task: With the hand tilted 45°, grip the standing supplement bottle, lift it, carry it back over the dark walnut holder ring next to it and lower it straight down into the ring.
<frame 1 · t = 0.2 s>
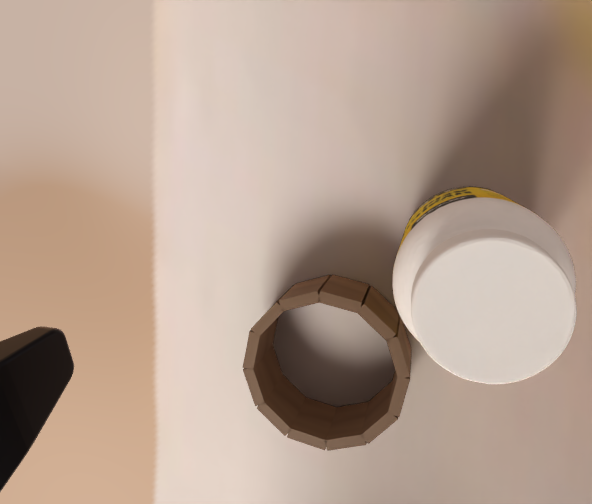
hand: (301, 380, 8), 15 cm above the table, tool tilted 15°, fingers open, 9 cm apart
supplement bottle: (462, 245, 22), on the table
holder: (334, 347, 24), on the table
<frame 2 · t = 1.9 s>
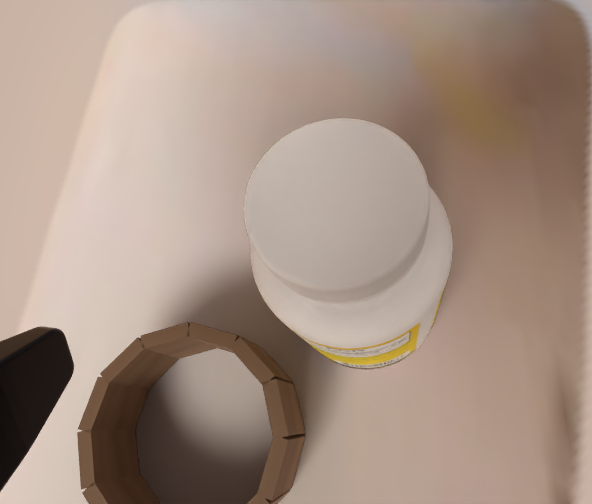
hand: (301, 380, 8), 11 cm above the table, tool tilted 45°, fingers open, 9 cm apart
supplement bottle: (365, 302, 19), on the table
holder: (210, 431, 19), on the table
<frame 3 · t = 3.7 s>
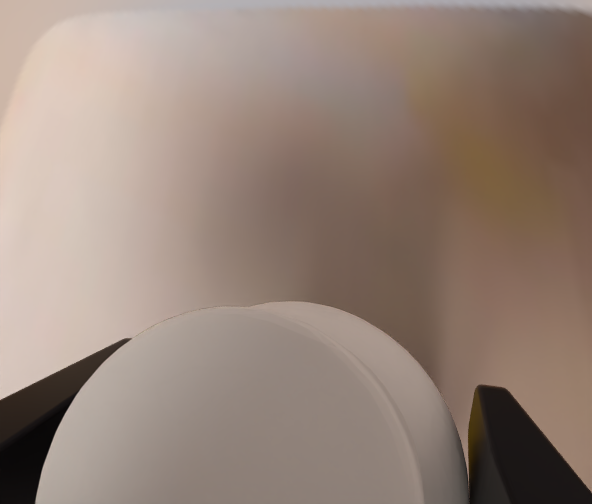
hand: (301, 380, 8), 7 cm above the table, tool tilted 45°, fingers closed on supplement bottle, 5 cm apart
supplement bottle: (338, 445, 14), on the table, touching gripper
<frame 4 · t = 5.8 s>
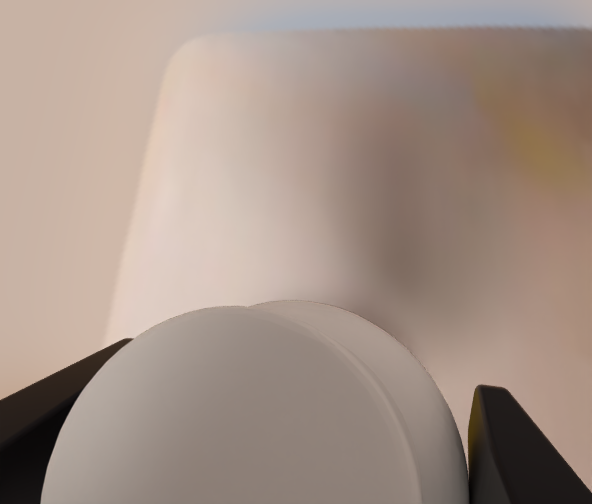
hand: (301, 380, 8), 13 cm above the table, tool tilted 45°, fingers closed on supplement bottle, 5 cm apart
supplement bottle: (342, 443, 14), point 6 cm above the table, touching gripper
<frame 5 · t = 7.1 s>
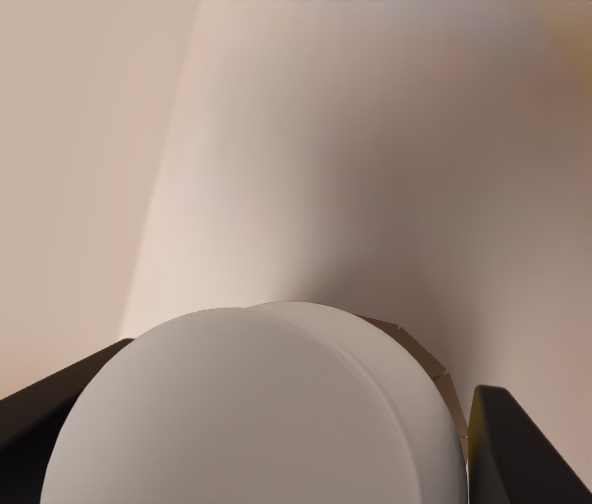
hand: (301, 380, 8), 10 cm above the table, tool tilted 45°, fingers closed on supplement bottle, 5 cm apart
supplement bottle: (340, 443, 14), point 4 cm above the table, touching gripper
holder: (350, 429, 17), on the table
when the fingers open (8 cm above the table, at t = 8.1 s): supplement bottle drops 1 cm, resting in holder.
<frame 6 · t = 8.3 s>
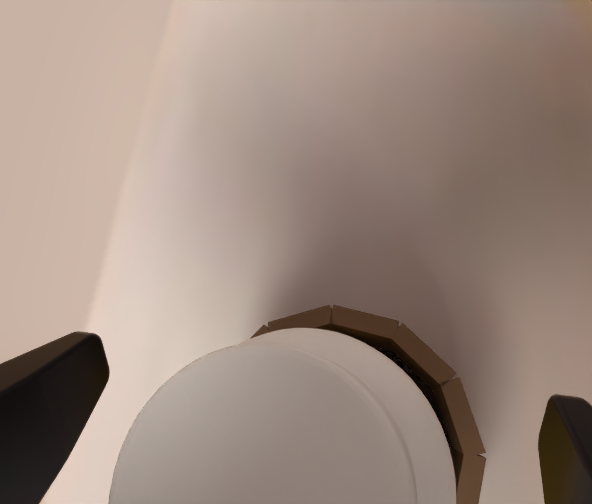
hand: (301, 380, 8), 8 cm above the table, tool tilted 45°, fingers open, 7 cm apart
supplement bottle: (342, 449, 15), resting in holder
holder: (343, 442, 15), on the table
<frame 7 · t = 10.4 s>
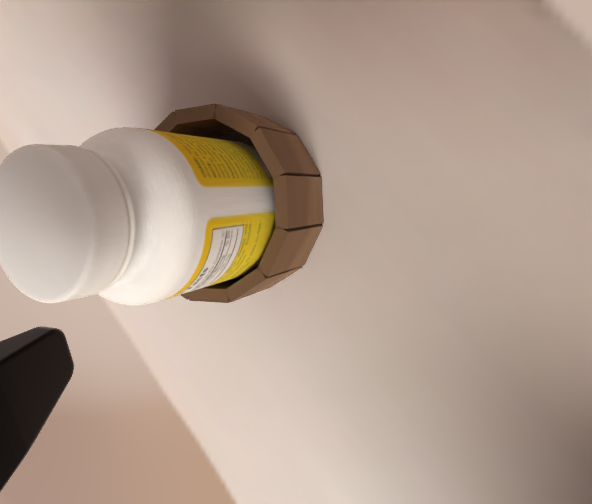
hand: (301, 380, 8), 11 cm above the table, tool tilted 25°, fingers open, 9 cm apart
supplement bottle: (250, 208, 21), resting in holder
holder: (244, 204, 21), on the table
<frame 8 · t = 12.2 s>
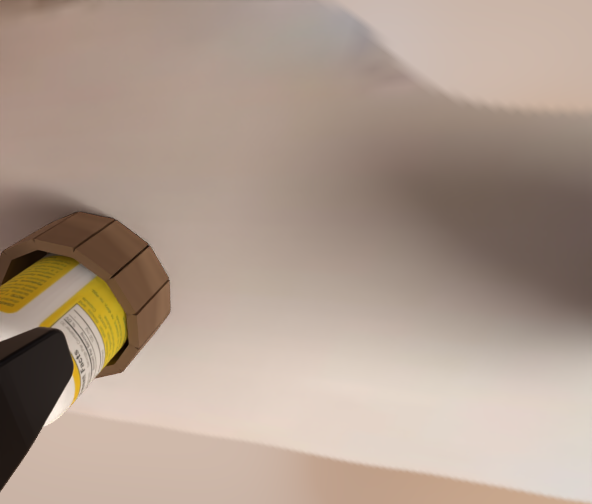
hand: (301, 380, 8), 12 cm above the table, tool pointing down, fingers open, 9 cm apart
supplement bottle: (110, 278, 24), resting in holder
holder: (103, 280, 24), on the table
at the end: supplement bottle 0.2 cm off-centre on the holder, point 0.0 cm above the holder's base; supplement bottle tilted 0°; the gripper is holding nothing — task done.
